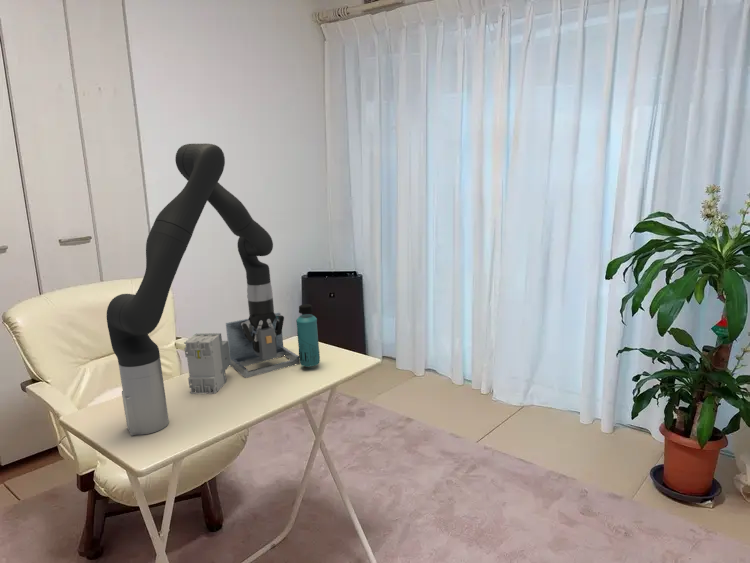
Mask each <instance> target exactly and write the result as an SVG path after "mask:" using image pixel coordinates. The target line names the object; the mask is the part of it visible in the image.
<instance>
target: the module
mask: <svg viewBox="0 0 750 563" xmlns="http://www.w3.org/2000/svg"><path fill="white" fill-rule="evenodd" d="M252 330H253V326H252ZM255 330H257V329H255ZM258 333H259V334H258V341H259V351H260V352H259V353H257V352H255V354H256V355H257V356H259V357H260V358H262V359H263V360H264V359H268V358H272V357H276V356H277V353H276V342H275V331H274V328H273V327H270V328H269V327H268V328H263V329H261V330H258Z"/></svg>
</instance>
